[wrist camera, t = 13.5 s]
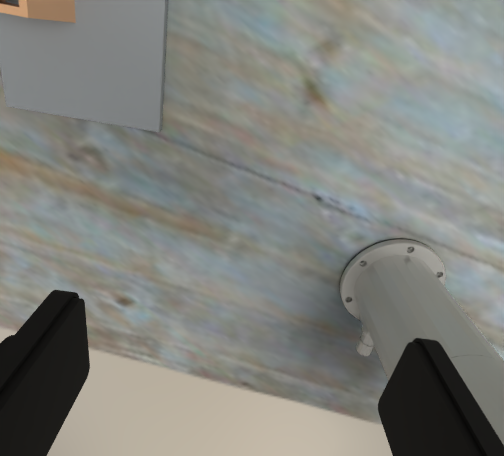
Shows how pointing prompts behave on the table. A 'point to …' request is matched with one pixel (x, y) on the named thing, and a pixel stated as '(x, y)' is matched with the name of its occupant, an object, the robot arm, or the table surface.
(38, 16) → the hollow square tube
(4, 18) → the grey peg stand
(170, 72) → the table surface
